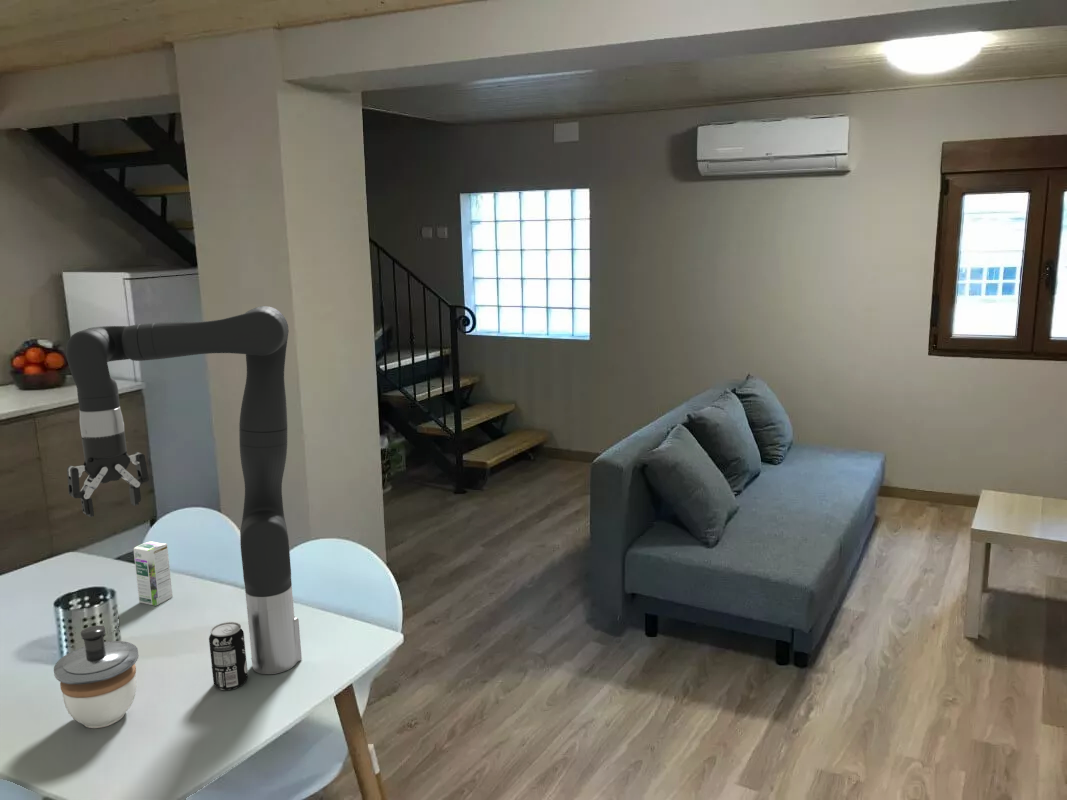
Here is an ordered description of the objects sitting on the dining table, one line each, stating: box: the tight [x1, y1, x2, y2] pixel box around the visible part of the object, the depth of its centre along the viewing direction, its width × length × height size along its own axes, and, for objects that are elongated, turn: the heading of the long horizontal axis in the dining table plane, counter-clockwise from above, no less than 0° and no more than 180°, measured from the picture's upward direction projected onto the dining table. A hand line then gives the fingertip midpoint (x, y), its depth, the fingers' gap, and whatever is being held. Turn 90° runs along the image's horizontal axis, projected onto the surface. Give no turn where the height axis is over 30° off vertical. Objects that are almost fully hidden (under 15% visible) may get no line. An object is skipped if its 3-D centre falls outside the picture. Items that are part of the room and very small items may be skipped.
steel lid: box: [53, 625, 139, 684], centre depth 154 cm, size 14×14×7 cm
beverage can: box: [208, 621, 249, 691], centre depth 167 cm, size 7×7×12 cm
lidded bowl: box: [59, 663, 137, 729], centre depth 156 cm, size 13×13×11 cm
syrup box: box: [132, 540, 173, 607], centre depth 206 cm, size 6×6×14 cm
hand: (112, 510), depth 164 cm, fingers open, 8 cm apart
